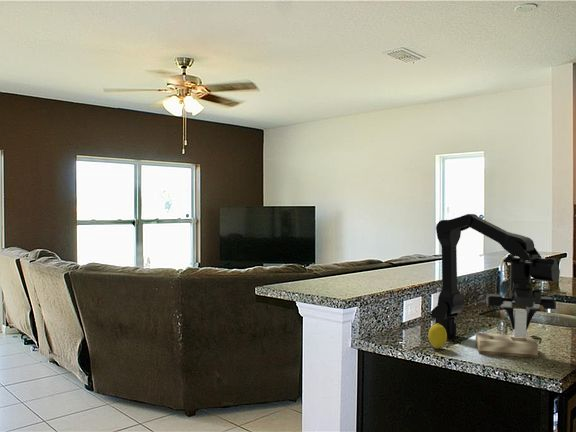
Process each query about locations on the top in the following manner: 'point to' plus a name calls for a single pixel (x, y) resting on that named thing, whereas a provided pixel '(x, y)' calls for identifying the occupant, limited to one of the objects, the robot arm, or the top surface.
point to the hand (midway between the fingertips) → (519, 329)
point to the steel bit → (519, 322)
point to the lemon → (437, 335)
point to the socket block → (506, 345)
